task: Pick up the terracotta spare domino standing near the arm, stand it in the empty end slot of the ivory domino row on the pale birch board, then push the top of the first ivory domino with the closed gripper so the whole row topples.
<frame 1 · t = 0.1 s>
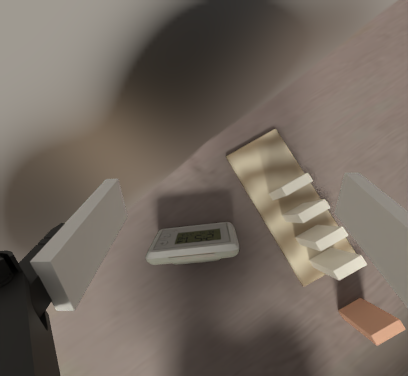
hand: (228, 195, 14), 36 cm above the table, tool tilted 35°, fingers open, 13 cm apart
domino 2: (308, 234, 47), point 1 cm above the table, touching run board
domino 4: (281, 191, 48), point 1 cm above the table, touching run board
digital clock: (196, 238, 50), on the table
domino 1: (322, 257, 46), point 1 cm above the table, touching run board
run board: (287, 204, 49), on the table
spare domino: (351, 307, 46), on the table
domino 3: (294, 212, 48), point 1 cm above the table, touching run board
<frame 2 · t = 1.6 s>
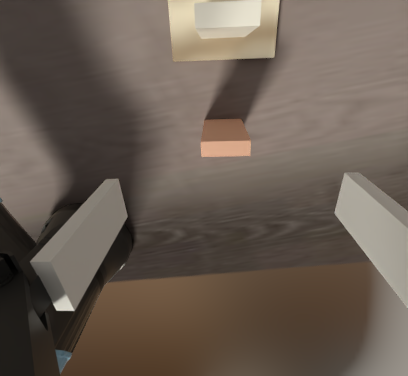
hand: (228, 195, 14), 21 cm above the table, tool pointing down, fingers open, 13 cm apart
domino 1: (223, 29, 27), point 1 cm above the table, touching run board
spare domino: (222, 125, 33), on the table
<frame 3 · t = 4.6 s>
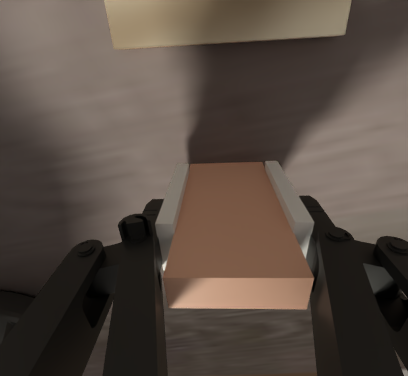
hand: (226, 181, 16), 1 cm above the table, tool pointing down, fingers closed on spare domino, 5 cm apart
spare domino: (226, 173, 17), on the table, touching gripper
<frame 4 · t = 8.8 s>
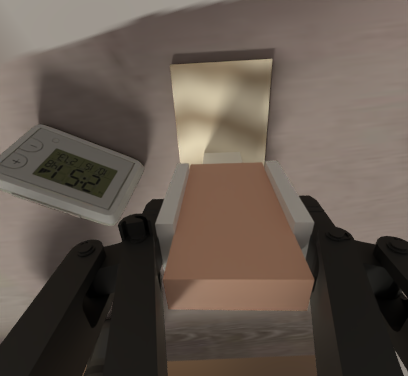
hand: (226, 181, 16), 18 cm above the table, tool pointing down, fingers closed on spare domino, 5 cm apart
domino 4: (221, 157, 33), point 1 cm above the table, touching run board
digital clock: (92, 157, 36), on the table
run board: (222, 174, 36), on the table
spare domino: (226, 173, 17), point 17 cm above the table, touching gripper
when the fingers open (3 cm above the table, at t = 12.9 s): spare domino stays where it is, resting on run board.
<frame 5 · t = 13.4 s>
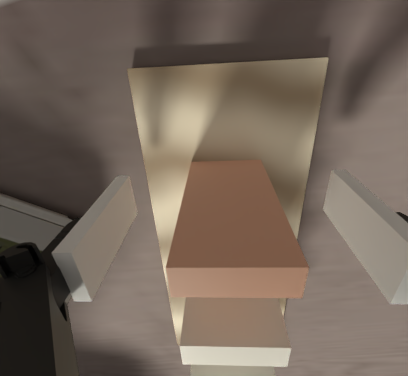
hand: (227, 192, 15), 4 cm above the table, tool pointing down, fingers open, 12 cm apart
domino 4: (226, 224, 20), point 1 cm above the table, touching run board
digital clock: (19, 215, 22), on the table
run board: (226, 244, 22), on the table
spare domino: (225, 170, 17), point 1 cm above the table, touching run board
domino 3: (226, 267, 22), point 1 cm above the table, touching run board
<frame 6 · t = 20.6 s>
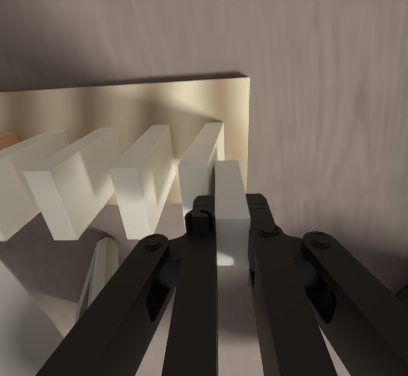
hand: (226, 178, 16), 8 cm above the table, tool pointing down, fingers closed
domino 2: (164, 150, 23), point 1 cm above the table, touching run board
domino 4: (65, 154, 24), point 1 cm above the table, touching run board
digital clock: (110, 275, 34), on the table
domino 1: (215, 148, 23), point 1 cm above the table, tilted 7°, touching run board
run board: (99, 150, 24), on the table
spare domino: (19, 156, 24), point 1 cm above the table, touching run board
domino 3: (114, 152, 23), point 1 cm above the table, touching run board
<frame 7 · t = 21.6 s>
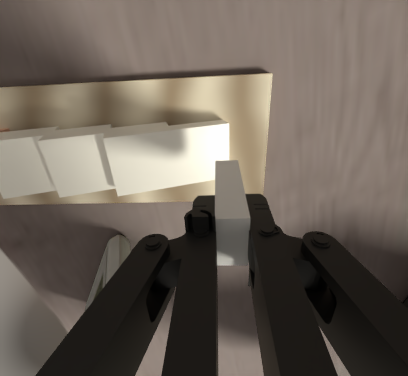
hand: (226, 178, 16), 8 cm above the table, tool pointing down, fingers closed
domino 2: (170, 150, 22), point 2 cm above the table, tilted 72°, touching domino 1, domino 3, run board
digital clock: (120, 274, 33), on the table
domino 1: (226, 149, 22), point 2 cm above the table, tilted 72°, touching domino 2, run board
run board: (114, 146, 24), on the table
domino 3: (117, 152, 22), point 2 cm above the table, tilted 72°, touching domino 2, domino 4
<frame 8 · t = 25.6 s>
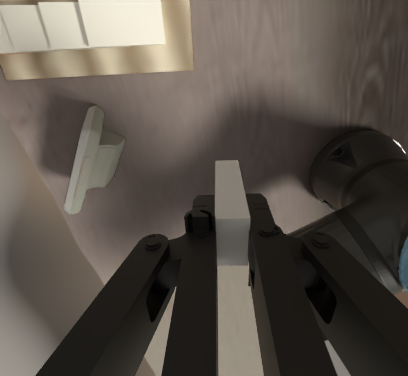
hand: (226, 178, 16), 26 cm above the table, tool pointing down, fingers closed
domino 2: (126, 25, 33), point 2 cm above the table, tilted 72°, touching domino 1, domino 3, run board
domino 4: (56, 30, 34), point 2 cm above the table, tilted 72°, touching domino 3, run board, spare domino
digital clock: (98, 148, 44), on the table
domino 1: (162, 23, 33), point 2 cm above the table, tilted 72°, touching domino 2, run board
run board: (90, 29, 35), on the table
domino 3: (90, 28, 33), point 2 cm above the table, tilted 72°, touching domino 2, domino 4
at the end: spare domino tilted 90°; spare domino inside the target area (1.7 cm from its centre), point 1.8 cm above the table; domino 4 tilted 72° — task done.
